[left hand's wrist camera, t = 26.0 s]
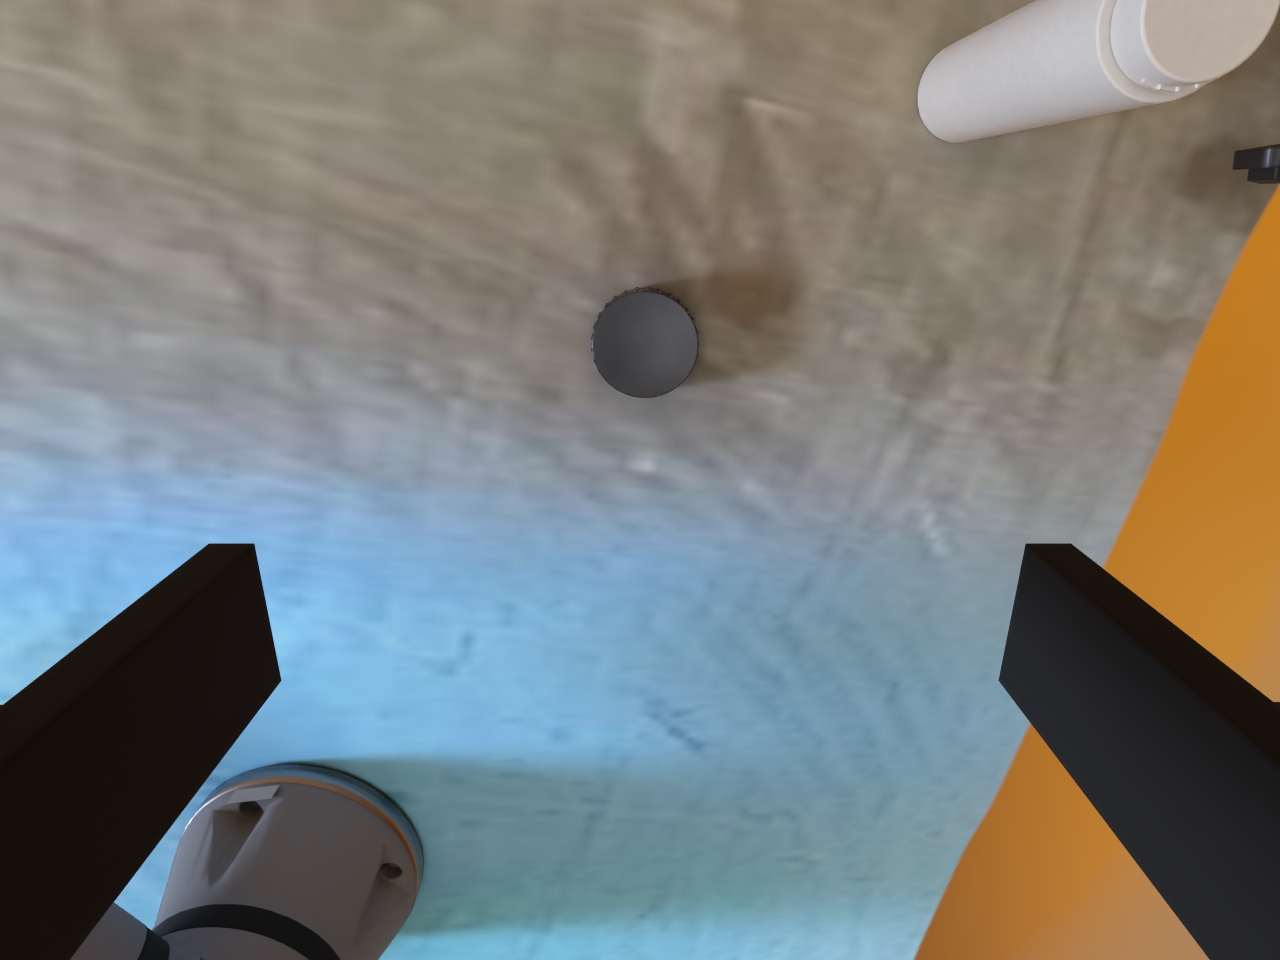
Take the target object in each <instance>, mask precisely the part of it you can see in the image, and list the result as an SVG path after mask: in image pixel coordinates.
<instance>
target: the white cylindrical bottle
mask: <svg viewBox="0 0 1280 960" xmlns="http://www.w3.org/2000/svg"><path fill="white" fill-rule="evenodd" d="M1279 6H1280V0H1035V1H1033V2H1031V3H1029V4H1027V5H1025V6H1024V7H1022V8H1020V9H1018V10H1016V11H1014V12H1012V13H1010V14H1008V15H1006V16H1004V17H1002V18H1001V19H999V20H997V21H995V22H993V23H991V24H989V25H987V26H985V27H983V28H981V29H979V30H978V31H976V32H974V33H972V34H970V35H968V36H966V37H964V38H962V39H960V40H958V41H956V42H954V43H953V44H951V45H949V46H947V47H945V48H944V49H943V50H941V51H940V52H939V53H938V54H937V55H936V56H935V57H934V58H933V59H932V60H931V61H930V63H929V64H928V66H927V67H926V69H925V71H924V73H923V75H922V78H921V81H920V84H919V89H918V109H919V113H920V116H921V119H922V121H923V123H924V125H925V126H926V127H927V129H928V130H929V131H930V132H931V133H932V134H933V135H935V136H936V137H938V138H939V139H941V140H944V141H947V142H952V143H962V142H969V141H974V140H979V139H984V138H989V137H994V136H999V135H1004V134H1009V133H1014V132H1019V131H1024V130H1029V129H1034V128H1039V127H1044V126H1049V125H1055V124H1060V123H1065V122H1070V121H1075V120H1080V119H1085V118H1090V117H1095V116H1100V115H1105V114H1110V113H1115V112H1120V111H1125V110H1130V109H1136V108H1141V107H1146V106H1151V105H1156V104H1161V103H1166V102H1170V101H1174V100H1178V99H1180V98H1183V97H1186V96H1188V95H1190V94H1191V93H1193V92H1195V91H1197V90H1198V89H1200V88H1201V87H1203V86H1204V85H1206V84H1207V83H1209V82H1211V81H1213V80H1216V79H1219V78H1220V77H1221V76H1223V75H1225V74H1227V73H1229V72H1231V71H1232V70H1234V69H1235V68H1237V67H1238V66H1239V65H1241V64H1242V63H1243V62H1244V61H1245V60H1247V59H1248V58H1249V57H1250V56H1251V55H1252V54H1253V53H1254V52H1255V51H1256V49H1257V48H1258V47H1259V46H1260V44H1261V43H1262V42H1263V40H1264V39H1265V37H1266V36H1267V34H1268V33H1269V31H1270V29H1271V27H1272V25H1273V23H1274V21H1275V18H1276V16H1277V13H1278V10H1279Z"/></svg>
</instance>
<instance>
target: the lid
mask: <svg viewBox="0 0 1280 960" xmlns="http://www.w3.org/2000/svg"><path fill="white" fill-rule="evenodd" d="M598 318H599V319H598V321H597V323H595V324H594V327H593V328H594V333H593V334H592V337H591V340H592V349H591V351H593V357H594V362H595V363H596V366H597V368H598V370H599V372H600V373H601V375H602V376H603V378H604V379H605V380H606V381H607V382H608V383H609V384H610V385H611V386H612V387H614V388H615V389H617V390H618V391H620V392H622V393H624V394H627V395H630V396H633V397H639V398H651V397H657V396H661V395H663V394H666V393H668V392H670V391H672V390H674V389H675V388H676V387H678V386H679V385H680V384H681V383H682V382H683V381H684V380H685V379H686V378H687V377H688V375H689V374H690V372H691V371H692V369H693V367H694V364H695V361H696V358H697V357H698V354H697V353H698V346H699V342H698V336H697V334H698V331H697V328H695V325H694V323H695V321H694V319H693V318H691V316H690V314H689V310H688V308H685V307H684V306H683V305H682V303H681V300H680V299H679V300H677V299H676V298H674V297H673V296H672V294H671V293H669V294H668V293H665V292H663V291H661V289H658V290H656V289H651V288H649V287H647V288H641V289H638V287H636V288H635V289H634V290H630V291H626V290H625V291H624V293H623V294H621V295H619V296H614V299H613V300H612V301H611V302H610V303H609V304H608V303H607V304H606V305H605V309H604V310H603V311H602V313H601V312H600V313H599V315H598Z"/></svg>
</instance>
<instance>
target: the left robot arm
mask: <svg viewBox="0 0 1280 960" xmlns="http://www.w3.org/2000/svg"><path fill="white" fill-rule="evenodd" d="M280 682H281V677H280V672H279V667H278V661H277V656H276V651H275V646H274V641H273V636H272V631H271V626H270V621H269V616H268V611H267V606H266V601H265V596H264V591H263V586H262V581H261V576H260V571H259V566H258V561H257V555H256V550H255V545H254V544H208V545H207V546H205V547H204V548H203V549H202V550H200V551H199V552H198V553H197V554H195V555H194V556H193V557H191V558H190V559H189V560H188V561H186V562H185V563H184V564H182V565H181V566H180V567H179V568H177V569H176V570H175V571H174V572H172V573H171V574H170V575H168V576H167V577H166V578H165V579H163V580H162V581H161V582H159V583H158V584H157V585H156V586H154V587H153V588H152V589H151V590H149V591H148V592H147V593H145V594H144V595H143V596H142V597H140V598H139V599H138V600H136V601H135V602H134V603H133V604H131V605H130V606H129V607H128V608H126V609H125V610H124V611H122V612H121V613H120V614H119V615H117V616H116V617H115V618H113V619H112V620H111V621H110V622H108V623H107V624H106V625H105V626H103V627H102V628H101V629H99V630H98V631H97V632H96V633H94V634H93V635H92V636H90V637H89V638H88V639H87V640H85V641H84V642H83V643H82V644H80V645H79V646H78V647H76V648H75V649H74V650H73V651H71V652H70V653H69V654H67V655H66V656H65V657H64V658H62V659H61V660H60V661H59V662H57V663H56V664H55V665H53V666H52V667H51V668H50V669H48V670H47V671H46V672H44V673H43V674H42V675H41V676H39V677H38V678H37V679H36V680H34V681H33V682H32V683H30V684H29V685H28V686H27V687H25V688H24V689H23V690H21V691H20V692H19V693H18V694H16V695H15V696H14V697H13V698H11V699H10V700H9V701H7V702H6V703H5V704H4V705H0V960H378V959H379V958H380V956H381V955H382V954H383V952H384V951H385V950H386V948H387V947H388V946H389V944H390V943H391V942H392V940H393V939H394V937H395V936H396V935H397V933H398V932H399V931H400V929H401V928H402V926H403V925H404V923H405V921H406V919H407V918H408V916H409V914H410V912H411V910H412V908H413V906H414V902H415V899H416V896H417V893H418V890H419V887H420V884H421V880H422V875H423V855H422V850H421V846H420V843H419V840H418V837H417V835H416V833H415V831H414V829H413V828H412V826H411V824H410V823H409V821H408V820H407V819H406V817H405V816H404V815H403V813H402V812H401V811H400V810H399V809H398V808H397V807H396V806H395V805H394V804H393V803H392V802H391V801H390V800H388V799H387V798H386V797H385V796H383V795H382V794H381V793H379V792H378V791H377V790H375V789H373V788H372V787H370V786H368V785H367V784H365V783H363V782H361V781H359V780H357V779H355V778H352V777H350V776H348V775H345V774H342V773H339V772H336V771H333V770H329V769H325V768H320V767H314V766H307V765H273V766H266V767H261V768H257V769H253V770H250V771H247V772H244V773H241V774H239V775H237V776H235V777H232V778H231V779H229V780H227V781H226V782H224V783H223V784H221V785H220V786H219V787H217V788H216V789H215V790H214V791H213V792H212V793H211V794H210V795H209V796H208V797H207V798H206V800H205V801H204V802H203V803H202V805H201V806H200V807H199V809H198V810H197V812H196V813H195V814H194V816H193V817H192V818H191V820H190V821H189V823H188V825H187V826H186V828H185V831H184V833H183V835H182V838H181V840H180V842H179V845H178V847H177V851H176V854H175V857H174V861H173V864H172V867H171V871H170V874H169V878H168V881H167V884H166V888H165V891H164V895H163V898H162V901H161V905H160V908H159V912H158V915H157V918H156V922H155V925H154V928H153V929H152V930H150V929H149V928H147V927H146V926H145V925H144V924H143V923H142V922H140V921H139V920H137V919H136V918H135V917H133V916H132V915H131V914H129V913H128V912H126V911H125V910H124V909H122V908H121V907H119V906H118V905H117V904H115V903H114V901H115V900H116V898H117V897H118V896H119V894H120V893H121V892H122V890H123V889H124V888H125V886H126V885H127V884H128V883H129V881H130V880H131V879H132V877H133V876H134V875H135V873H136V872H137V871H138V869H139V868H140V867H141V865H142V864H143V863H144V861H145V860H146V859H147V857H148V856H149V855H150V853H151V852H152V851H153V849H154V848H155V847H156V845H157V844H158V843H159V842H160V840H161V839H162V838H163V836H164V835H165V834H166V832H167V831H168V830H169V828H170V827H171V826H172V824H173V823H174V822H175V820H176V819H177V818H178V816H179V815H180V814H181V812H182V811H183V810H184V808H185V807H186V806H187V805H188V803H189V802H190V801H191V799H192V798H193V797H194V795H195V794H196V793H197V791H198V790H199V789H200V787H201V786H202V785H203V783H204V782H205V781H206V779H207V778H208V777H209V775H210V774H211V773H212V771H213V770H214V769H215V768H216V766H217V765H218V764H219V762H220V761H221V760H222V758H223V757H224V756H225V754H226V753H227V752H228V750H229V749H230V748H231V746H232V745H233V744H234V742H235V741H236V740H237V738H238V737H239V736H240V734H241V733H242V732H243V730H244V729H245V728H246V727H247V725H248V724H249V723H250V721H251V720H252V719H253V717H254V716H255V715H256V713H257V712H258V711H259V709H260V708H261V707H262V705H263V704H264V703H265V701H266V700H267V699H268V697H269V696H270V695H271V693H272V692H273V691H274V690H275V688H276V687H277V686H278V684H279V683H280ZM999 682H1000V683H1001V684H1002V686H1003V687H1004V688H1005V690H1006V691H1007V692H1008V693H1009V695H1010V696H1011V697H1012V699H1013V700H1014V701H1015V703H1016V704H1017V705H1018V707H1019V708H1020V709H1021V711H1022V712H1023V713H1024V715H1025V716H1026V717H1027V719H1028V720H1029V721H1030V723H1031V724H1032V725H1033V727H1034V728H1035V729H1036V730H1037V732H1038V733H1039V734H1040V736H1041V737H1042V738H1043V740H1044V741H1045V742H1046V744H1047V745H1048V746H1049V748H1050V749H1051V750H1052V752H1053V753H1054V754H1055V756H1056V757H1057V758H1058V760H1059V761H1060V762H1061V764H1062V765H1063V766H1064V768H1065V769H1066V770H1067V771H1068V773H1069V774H1070V775H1071V777H1072V778H1073V779H1074V781H1075V782H1076V783H1077V785H1078V786H1079V787H1080V789H1081V790H1082V791H1083V793H1084V794H1085V795H1086V797H1087V798H1088V799H1089V801H1090V802H1091V803H1092V805H1093V806H1094V807H1095V808H1096V810H1097V811H1098V812H1099V814H1100V815H1101V816H1102V818H1103V819H1104V820H1105V822H1106V823H1107V824H1108V826H1109V827H1110V828H1111V830H1112V831H1113V832H1114V834H1115V835H1116V836H1117V838H1118V839H1119V840H1120V842H1121V843H1122V844H1123V845H1124V847H1125V848H1126V849H1127V851H1128V852H1129V853H1130V855H1131V856H1132V857H1133V859H1134V860H1135V861H1136V863H1137V864H1138V865H1139V867H1140V868H1141V869H1142V871H1143V872H1144V873H1145V874H1146V876H1147V877H1148V878H1149V880H1150V881H1151V882H1152V884H1153V885H1154V886H1155V888H1156V889H1157V890H1158V892H1159V893H1160V894H1161V896H1162V897H1163V898H1164V900H1165V901H1166V902H1167V904H1168V905H1169V906H1170V908H1171V909H1172V910H1173V912H1174V913H1175V914H1176V916H1177V917H1178V918H1179V920H1180V921H1181V922H1182V923H1183V925H1184V926H1185V927H1186V929H1187V930H1188V931H1189V933H1190V934H1191V935H1192V937H1193V938H1194V939H1195V941H1196V942H1197V943H1198V945H1199V946H1200V947H1201V949H1202V950H1203V951H1204V952H1205V954H1206V955H1207V957H1208V958H1209V959H1210V960H1280V702H1273V701H1271V700H1270V699H1269V698H1267V697H1266V696H1265V695H1264V694H1262V693H1261V692H1260V691H1259V690H1257V689H1256V688H1255V687H1253V686H1252V685H1251V684H1250V683H1248V682H1247V681H1246V680H1244V679H1243V678H1242V677H1241V676H1239V675H1238V674H1237V673H1236V672H1234V671H1233V670H1232V669H1230V668H1229V667H1228V666H1227V665H1225V664H1224V663H1223V662H1221V661H1220V660H1219V659H1218V658H1216V657H1215V656H1214V655H1213V654H1211V653H1210V652H1209V651H1207V650H1206V649H1205V648H1204V647H1202V646H1201V645H1200V644H1198V643H1197V642H1196V641H1195V640H1193V639H1192V638H1191V637H1189V636H1188V635H1187V634H1186V633H1184V632H1183V631H1182V630H1181V629H1179V628H1178V627H1177V626H1175V625H1174V624H1173V623H1172V622H1170V621H1169V620H1168V619H1167V618H1165V617H1164V616H1163V615H1161V614H1160V613H1159V612H1158V611H1156V610H1155V609H1154V608H1152V607H1151V606H1150V605H1149V604H1147V603H1146V602H1145V601H1143V600H1142V599H1141V598H1140V597H1138V596H1137V595H1136V594H1135V593H1133V592H1132V591H1131V590H1129V589H1128V588H1127V587H1126V586H1124V585H1123V584H1122V583H1120V582H1119V581H1118V580H1117V579H1115V578H1114V577H1113V576H1112V575H1110V574H1109V573H1108V572H1106V571H1105V570H1104V569H1103V568H1101V567H1100V566H1099V565H1098V564H1096V563H1095V562H1094V561H1092V560H1091V559H1090V558H1089V557H1087V556H1086V555H1085V554H1083V553H1082V552H1081V551H1080V550H1078V549H1077V548H1076V547H1075V546H1073V545H1072V544H1026V545H1025V550H1024V555H1023V561H1022V566H1021V571H1020V576H1019V581H1018V586H1017V591H1016V596H1015V601H1014V606H1013V611H1012V616H1011V621H1010V626H1009V631H1008V636H1007V641H1006V646H1005V651H1004V656H1003V661H1002V667H1001V672H1000V677H999Z"/></svg>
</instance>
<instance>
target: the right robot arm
mask: <svg viewBox="0 0 1280 960" xmlns="http://www.w3.org/2000/svg"><path fill="white" fill-rule="evenodd" d="M1236 169H1249V172H1248V181H1251V182H1255V183H1259V184H1267V183H1280V144H1277V145H1270V146H1264V147H1257V148H1251V149H1245V150H1239V151H1235V154H1234V162H1233V170H1236Z"/></svg>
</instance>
